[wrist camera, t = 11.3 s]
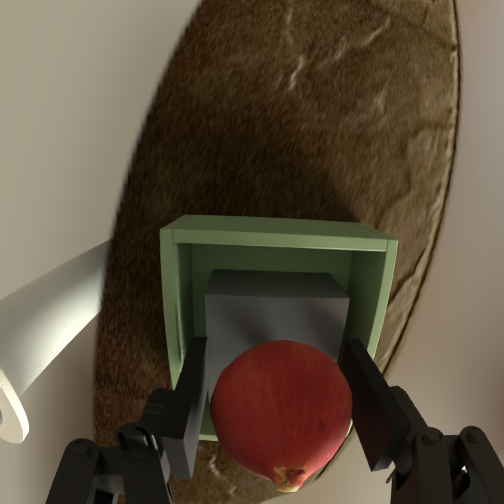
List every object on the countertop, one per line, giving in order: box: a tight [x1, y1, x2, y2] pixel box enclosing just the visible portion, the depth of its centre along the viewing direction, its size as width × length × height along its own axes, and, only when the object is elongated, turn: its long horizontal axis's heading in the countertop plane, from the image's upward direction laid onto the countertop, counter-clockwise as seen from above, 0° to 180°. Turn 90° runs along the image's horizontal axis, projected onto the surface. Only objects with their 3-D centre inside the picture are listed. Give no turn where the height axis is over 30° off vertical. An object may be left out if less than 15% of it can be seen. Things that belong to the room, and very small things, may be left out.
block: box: [205, 269, 350, 403], centre depth 16 cm, size 7×7×4 cm
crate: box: [160, 215, 398, 441], centre depth 16 cm, size 11×13×5 cm
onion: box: [210, 340, 352, 492], centre depth 10 cm, size 6×6×8 cm
